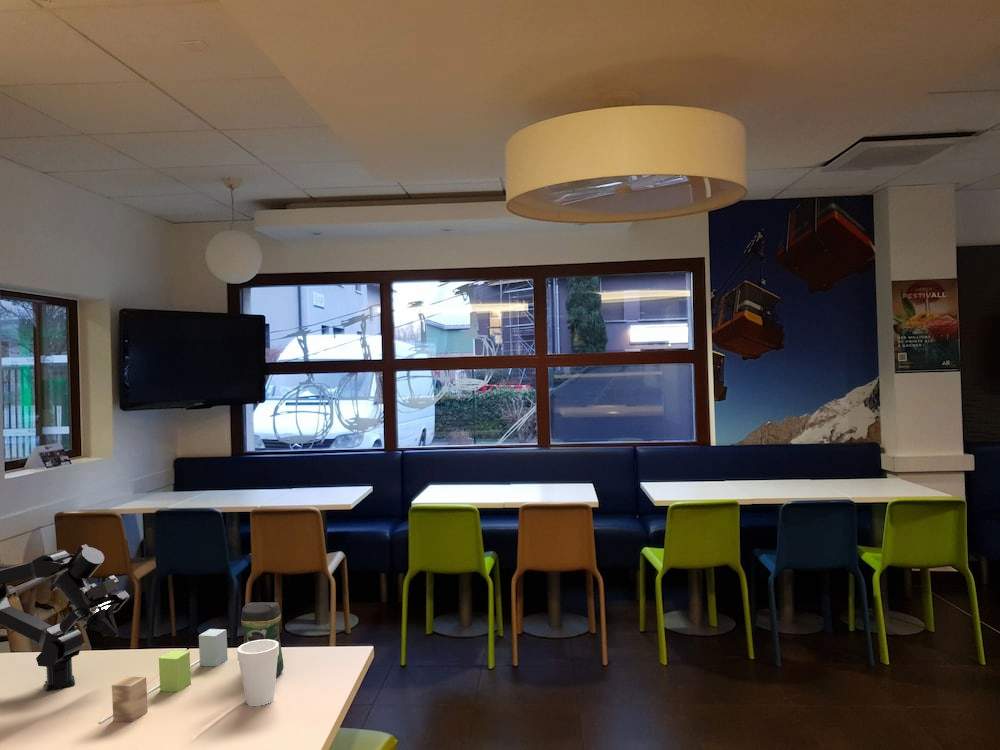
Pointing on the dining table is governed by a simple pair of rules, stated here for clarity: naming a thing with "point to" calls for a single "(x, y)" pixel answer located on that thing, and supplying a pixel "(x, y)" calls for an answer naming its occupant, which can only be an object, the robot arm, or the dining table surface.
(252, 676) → the foam cup
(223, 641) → the blue-grey block
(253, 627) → the coffee jar
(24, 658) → the dining table surface
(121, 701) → the brown wooden block
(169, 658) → the green block
